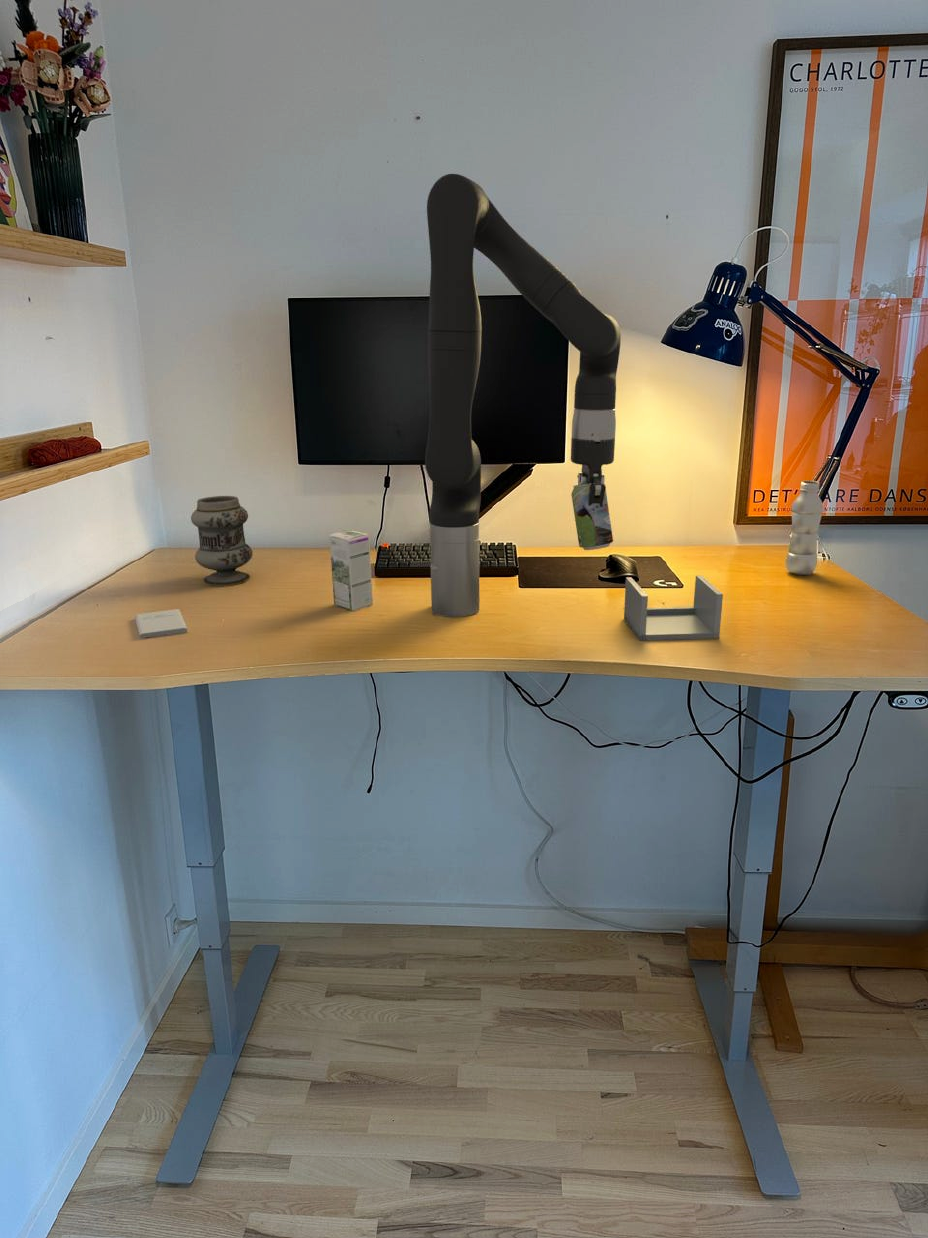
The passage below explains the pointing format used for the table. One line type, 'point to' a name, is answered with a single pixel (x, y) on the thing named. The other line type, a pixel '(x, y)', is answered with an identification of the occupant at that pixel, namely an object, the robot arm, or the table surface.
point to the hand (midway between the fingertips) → (588, 532)
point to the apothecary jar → (222, 539)
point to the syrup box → (351, 569)
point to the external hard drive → (160, 623)
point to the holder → (674, 614)
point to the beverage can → (591, 520)
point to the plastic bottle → (805, 530)
